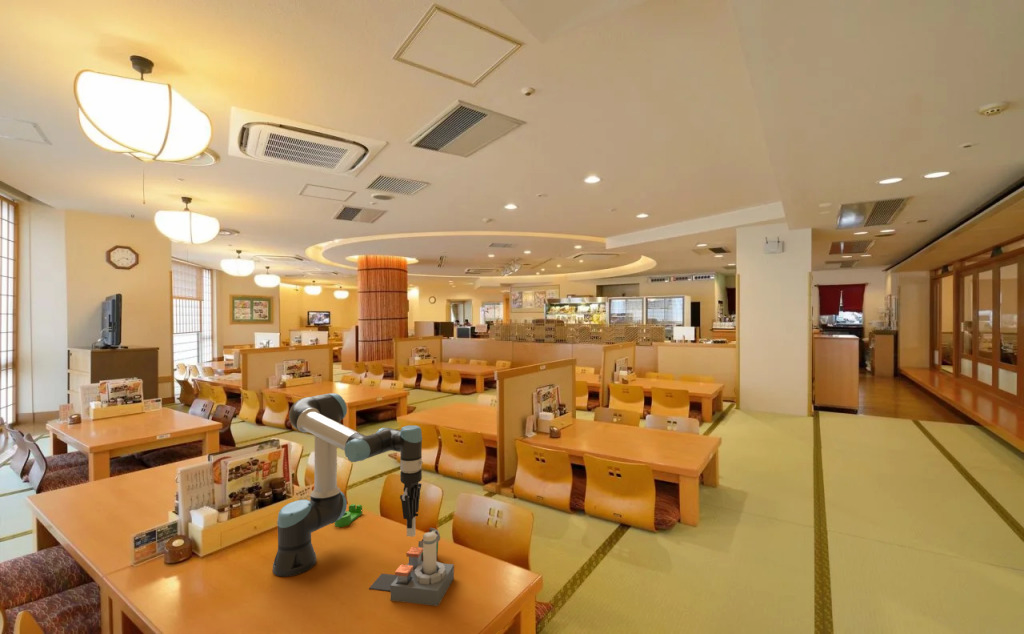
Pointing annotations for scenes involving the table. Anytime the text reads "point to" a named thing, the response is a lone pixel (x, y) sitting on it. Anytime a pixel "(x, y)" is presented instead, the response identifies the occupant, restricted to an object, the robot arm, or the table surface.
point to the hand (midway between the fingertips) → (411, 535)
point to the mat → (383, 582)
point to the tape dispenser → (349, 515)
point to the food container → (436, 542)
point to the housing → (424, 586)
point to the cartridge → (429, 553)
